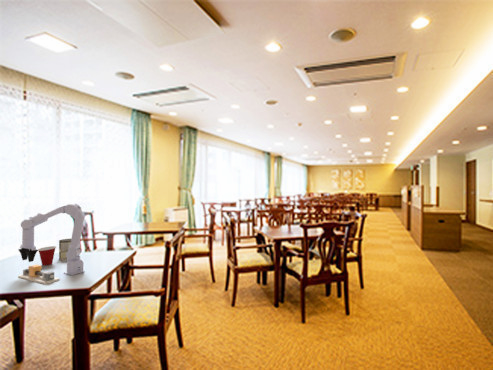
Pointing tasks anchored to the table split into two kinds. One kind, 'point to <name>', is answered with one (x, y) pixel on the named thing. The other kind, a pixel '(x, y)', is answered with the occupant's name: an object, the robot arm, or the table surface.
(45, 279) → the cord board
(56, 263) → the table surface
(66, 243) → the coffee can
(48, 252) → the plastic cup
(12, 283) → the table surface
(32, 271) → the marker sleeve
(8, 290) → the table surface
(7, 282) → the table surface
